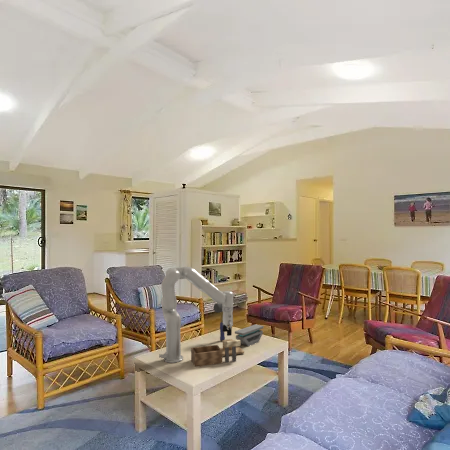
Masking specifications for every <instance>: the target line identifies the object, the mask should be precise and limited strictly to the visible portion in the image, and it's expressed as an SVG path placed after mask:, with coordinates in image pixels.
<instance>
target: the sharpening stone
mask: <svg viewBox="0 0 450 450" xmlns="http://www.w3.org/2000/svg"><path fill="white" fill-rule="evenodd" d="M262 329H265V328H264V325H259V324H252V325H250V326H247V327H244V328H241V329H238V330H235V331H234V334H235V340H240V341H241V345H243V346H246V347H250V345H251V346H253V345H255V343H256V344H258V343H259V342H260V340H261V338H262V336H263V334H264V331H263V330H262Z"/></svg>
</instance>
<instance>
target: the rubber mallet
mask: <svg viewBox="0 0 450 450" xmlns="http://www.w3.org/2000/svg"><path fill="white" fill-rule="evenodd" d="M213 311H214V312H215V313H220V322H219V331H220V332H219V334H220V336H219V340H220V342H223V340H226V337H225V332H223V311H222V304H218V303H216V302H215V303H214V305H213Z"/></svg>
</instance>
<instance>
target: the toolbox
mask: <svg viewBox="0 0 450 450" xmlns="http://www.w3.org/2000/svg"><path fill="white" fill-rule="evenodd" d="M220 348H221V347H220V346H219V345H218V344H213V345H204V346H195V347H191V348H190V361H191V362H192V365H194V367H195V368H197V367H205V366H211V365H212V366H213V365H219V364H220V365H221V364H223V356H222V350H221V349H220ZM231 361H232V362H237V354H236V346H234V347H232V355H231ZM224 362H225V363H229V362H230V355H229V347H227V348H225V356H224Z"/></svg>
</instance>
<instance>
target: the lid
mask: <svg viewBox="0 0 450 450" xmlns="http://www.w3.org/2000/svg"><path fill="white" fill-rule="evenodd" d="M225 340H226V341H232V340H233V339H232V338H229V339H225ZM219 348H220V349H221V350H222V357H225V348H224V346H223V345H222V347H219ZM241 354H245V350H243V348H241V346H236V355H241ZM229 356H232V347H229Z"/></svg>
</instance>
